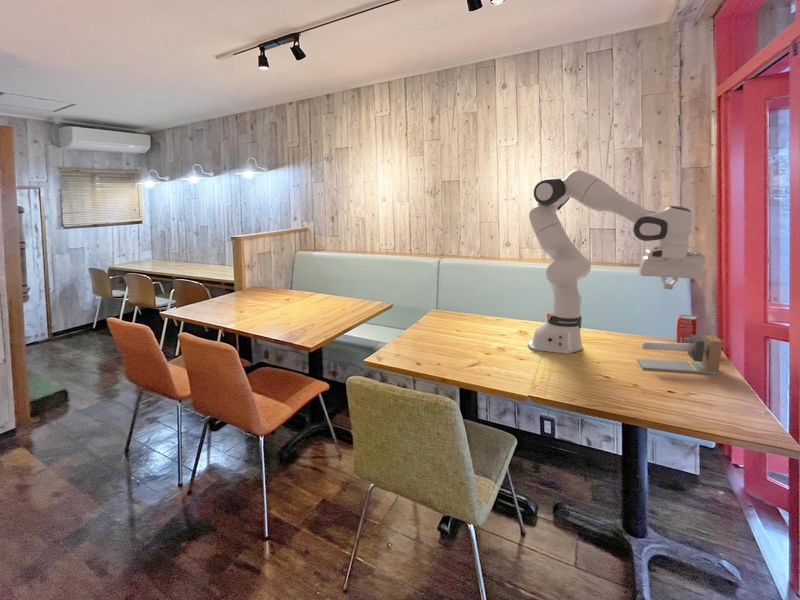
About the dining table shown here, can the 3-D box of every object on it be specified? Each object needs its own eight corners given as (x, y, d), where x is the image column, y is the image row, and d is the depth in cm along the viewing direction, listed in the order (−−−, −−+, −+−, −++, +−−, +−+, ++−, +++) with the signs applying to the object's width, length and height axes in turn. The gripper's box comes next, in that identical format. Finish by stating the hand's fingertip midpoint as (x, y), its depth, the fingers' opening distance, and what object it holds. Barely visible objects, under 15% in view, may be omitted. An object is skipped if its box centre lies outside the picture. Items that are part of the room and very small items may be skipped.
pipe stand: (642, 369, 166) (645, 338, 163) (637, 360, 174) (640, 331, 171) (720, 374, 159) (724, 342, 156) (710, 365, 167) (715, 334, 164)
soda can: (698, 349, 183) (701, 319, 180) (678, 349, 184) (682, 319, 181) (690, 343, 190) (694, 314, 187) (672, 343, 191) (675, 314, 188)
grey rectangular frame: (694, 361, 161) (696, 341, 159) (687, 353, 168) (690, 334, 166) (702, 361, 160) (705, 341, 158) (695, 354, 167) (697, 335, 165)
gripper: (703, 251, 161) (696, 288, 165) (640, 249, 167) (636, 285, 171) (709, 254, 156) (702, 292, 159) (644, 252, 161) (639, 289, 165)
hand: (667, 288), depth 165 cm, fingers closed
